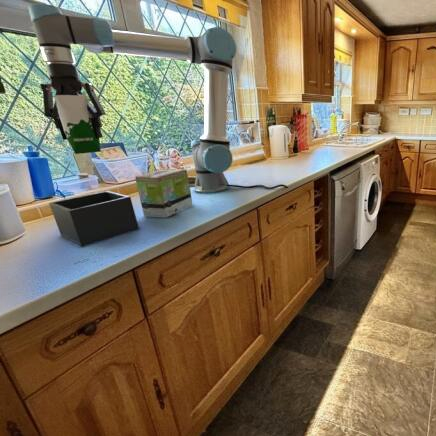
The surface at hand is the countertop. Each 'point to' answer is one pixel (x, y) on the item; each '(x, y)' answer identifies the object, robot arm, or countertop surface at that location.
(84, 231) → the waste bin
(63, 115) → the soya milk
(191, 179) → the toy sandwich meal
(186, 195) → the tea box
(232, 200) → the countertop surface
